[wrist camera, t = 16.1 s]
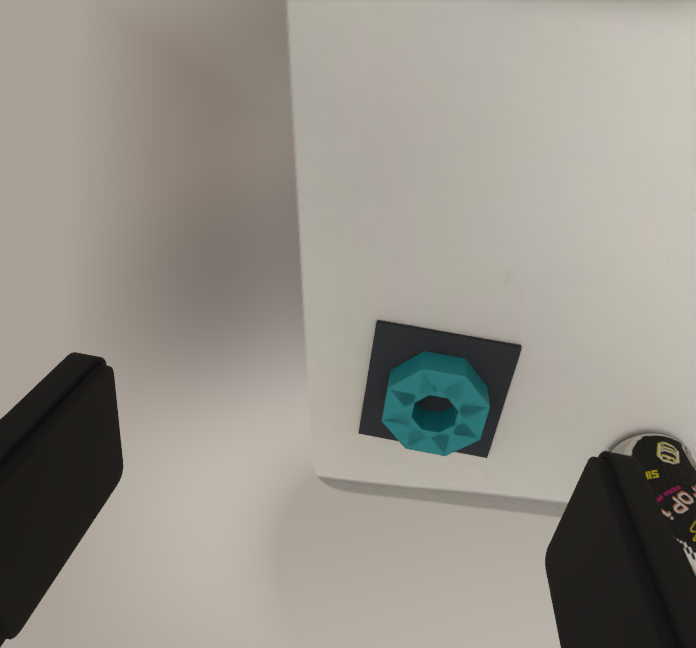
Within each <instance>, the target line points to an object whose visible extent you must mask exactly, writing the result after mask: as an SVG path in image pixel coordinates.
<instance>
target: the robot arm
mask: <svg viewBox="0 0 696 648" xmlns="http://www.w3.org/2000/svg"><path fill="white" fill-rule="evenodd" d="M122 471H123V458H122V448H121V439H120V428H119V419H118V410H117V400H116V390H115V380H114V372H113V369H112V367H110V366H107V365H106V362H105V360H104V359H103V358H102V357H97V356H92V355H86V354H81V353H76V352H74V353H71V354H69V355H68V356H67V357H66V358H65V359H64V360H63V361H61V362H60V363H59V364H58V365H57V366H56V367H55V368H54V369H53V370H52V371H51V372H50V373H49V374H48V375H47V376H46V377H45V378H44V379H43V380H42V381H41V382H39V384H37V385H36V386H35V387H34V388H33V389H32V390H31V391H30V392H29V393H28V394H27V395H26V396H25V397H24V398H23V399H22V400H21V401H20V402H19V403H18V404H16V405H15V406H14V407H13V408H12V409H11V410H10V411H9V412H8V413H7V414H6V415H5V416H4V417H2V418H1V419H0V647H1V645H2V644H3V643H4V641H5V640H6V639H12V638H14V637H15V636H16V635H18V633H19V632H20V631H21V630H22V628H23V627H24V625H25V624H26V622H27V620H28V619H29V617H30V616H31V614H32V613H33V611H34V610H35V608H36V607H37V605H38V604H39V602H40V601H41V599H42V598H43V596H44V595H45V593H46V592H47V590H48V589H49V587H50V586H51V584H52V583H53V581H54V580H55V578H56V577H57V575H58V574H59V572H60V571H61V569H62V567H63V566H64V565H65V563H66V562H67V560H68V559H69V557H70V555H71V554H72V552H73V551H74V549H75V548H76V546H77V545H78V543H79V542H80V540H81V539H82V537H83V536H84V534H85V533H86V531H87V530H88V528H89V527H90V525H91V524H92V522H93V521H94V519H95V518H96V516H97V515H98V513H99V512H100V510H101V509H102V507H103V506H104V504H105V503H106V501H107V500H108V498H109V497H110V495H111V493H112V492H113V491H114V489H115V487H116V486H117V484H118V482H119V481H120V478H121V476H122ZM545 566H546V573H547V578H548V583H549V588H550V593H551V599H552V603H553V609H554V614H555V619H556V624H557V630H558V634H559V640H560V645H561V648H696V575H695V573H694V571H693V568H692V566H691V564H690V562H689V560H688V557H687V555H686V553H685V551H684V549H683V547H682V546H681V544H680V542H679V541H678V540H677V539H675V538H674V537H673V535H672V533H671V530H670V528H669V526H668V524H667V521H666V519H665V517H664V515H663V512H662V510H661V508H660V506H659V503H658V501H657V499H656V497H655V494H654V492H653V490H652V488H651V485H650V483H649V481H648V479H647V476H646V474H645V472H644V470H643V467H642V465H641V463H640V461H639V460H638V458H636V457H634V456H629V455H624V454H618V453H613V452H608V451H603V452H602V453H600V455H599V456H598V458H597V457H591V458H590V459H589V460H588V462H587V464H586V466H585V468H584V470H583V472H582V475H581V477H580V479H579V481H578V483H577V485H576V488H575V490H574V492H573V494H572V496H571V498H570V501H569V503H568V505H567V507H566V509H565V511H564V514H563V516H562V518H561V520H560V522H559V524H558V527H557V529H556V531H555V533H554V535H553V538H552V540H551V542H550V544H549V546H548V548H547V552H546V558H545Z"/></svg>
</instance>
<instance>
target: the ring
mask: <svg viewBox="0 0 696 648" xmlns="http://www.w3.org/2000/svg"><path fill="white" fill-rule="evenodd" d="M429 395H432V396H437V397H443V398H448V399H449V400H450V402H451V403H452V404H453V405H454V406H452V407H450V408H448V409H446V410H444V411H442V412H440V413H439V412H433V411H428V410H423V409H422V408H421V407H420V405H419V404H418V403H417V401H419V400H421V399H423V398H425V397H427V396H429ZM489 409H490V404H489V395H488V387H487V386H486V384H485V383H484V382H483V380H482V379H481V378H480V377H479V375H478V374H477V373H476V371H475V370H474V369H473V367H472V366H471V365H470V364H469V362H468V361H467V360H466V359H465V358H461V357H455V356H449V355H444V354H438V353H433V352H427V351H424V352H422V353H420V354H418V355H416V356H415V357H413V358H411V359H409V360H408V361H406V362H404V363H402V364H400V365H399V366H397V367H395V368H393V369H392V370H391V371H390V376H389V382H388V387H387V392H386V398H385V403H384V410H383V416H382V422H383V423H384V424H385V426H386V427H387V428H388V429H389V430H390V431H391V432H392V434H393V435H394V436H395V437H396V438H397V439H398V440H399V442H400V443H401V444H402V445H403V446H404V447H405V448H406V449H411V450H416V451H421V452H426V453H432V454H437V455H442V456H446V455H449V454H451V453H453V452H455V451H457V450H459V449H461V448H463V447H466V446H468V445H470V444H472V443H474V442H476V441H478V440H480V439H481V435H482V432H483V429H484V425H485V422H486V419H487V415H488V412H489Z"/></svg>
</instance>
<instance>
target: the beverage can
mask: <svg viewBox="0 0 696 648" xmlns="http://www.w3.org/2000/svg"><path fill="white" fill-rule="evenodd" d="M611 452H613V453H618V454H624V455H629V456H634V457H636V458H638V460H639V461H640V463H641V465H642V467H643V470H644V472H645V474H646V476H647V479H648V481H649V483H650V485H651V488H652V490H653V492H654V494H655V497H656V499H657V501H658V503H659V506H660V508H661V510H662V512H663V515H664V517H665V519H666V521H667V524H668V526H669V528H670V530H671V533H672V535H673V537H674V538H675V539H677V540H678V541H679V542H680V544H681V546H682V547H683V549H684V551H685V553H686V555H687V557H688V560H689V562H690V564H691V566H692V568H693V571H694V573H695V575H696V462H695V461H694V459H693V457H692V455H691V453H690V452H689V450H688V449H687V448H686V446H685V445H684V444H683V443H681V442H680V441H679V440H677V439H675V438H673V437H670V436H667V435H663V434H642V435H637V436H634V437H631V438H628V439H627V440H625V441H623V442H621V443H620V444H618V445H617V446H616V447H615V448H614V449H613V450H612V451H611Z"/></svg>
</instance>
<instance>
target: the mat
mask: <svg viewBox="0 0 696 648" xmlns="http://www.w3.org/2000/svg"><path fill="white" fill-rule="evenodd" d="M424 351H427V352H433V353H438V354H444V355H449V356H455V357H461V358H465V359H466V360H467V361H468V362H469V364H470V365H471V366H472V367H473V369H474V370H475V371H476V373H477V374H478V375H479V377H480V378H481V379H482V380H483V382H484V383H485V384H486V386H487V387H488V395H489V404H490V409H489V412H488V415H487V419H486V422H485V425H484V429H483V432H482V435H481V439H480V440H478V441H476V442H474V443H472V444H470V445H468V446H466V447H463V448H461V449H459V450H457V451H455V452H459V453H464V454H469V455H474V456H479V457H485V458H487V456H488V453H489V450H490V447H491V444H492V441H493V437H494V434H495V431H496V428H497V425H498V421H499V418H500V415H501V412H502V409H503V406H504V402H505V399H506V396H507V393H508V390H509V387H510V383H511V380H512V377H513V374H514V371H515V367H516V364H517V361H518V358H519V355H520V352H521V345H517V344H511V343H505V342H500V341H494V340H488V339H482V338H477V337H471V336H465V335H460V334H454V333H448V332H442V331H437V330H431V329H425V328H420V327H414V326H408V325H403V324H397V323H391V322H385V321H380V320H377V323H376V329H375V335H374V341H373V347H372V354H371V360H370V366H369V372H368V378H367V385H366V391H365V397H364V403H363V409H362V416H361V422H360V428H359V434H364V435H369V436H375V437H380V438H385V439H390V440H396V441H399V440H398V439H397V438H396V437H395V436H394V435H393V434H392V432H391V431H390V430H389V429H388V428H387V427H386V426H385V424H384V423H383V422H382V416H383V410H384V403H385V398H386V392H387V387H388V382H389V376H390V371H391V370H392V369H393V368H395V367H397V366H399V365H400V364H402V363H404V362H406V361H408V360H409V359H411V358H413V357H415V356H416V355H418V354H420V353H422V352H424ZM417 403H418V404H419V405H420V407H421V408H422V409H423V410H428V411H433V412H439V413H440V412H442V411H444V410H446V409H448V408H450V407H452V406H454V405H453V404H452V403H451V402H450V400H449V399H448V398H443V397H437V396H432V395H429V396H427V397H425V398H423V399H421V400H419V401H417Z"/></svg>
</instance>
